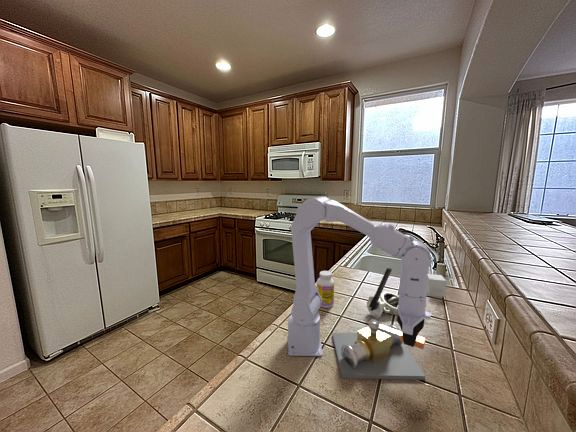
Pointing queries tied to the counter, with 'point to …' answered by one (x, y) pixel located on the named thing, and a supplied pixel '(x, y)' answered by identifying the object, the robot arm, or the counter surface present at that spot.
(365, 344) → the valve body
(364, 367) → the mounting board
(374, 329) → the lever
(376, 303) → the butterfly valve
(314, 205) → the robot arm
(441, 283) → the product box
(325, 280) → the supplement bottle
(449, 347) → the counter surface
